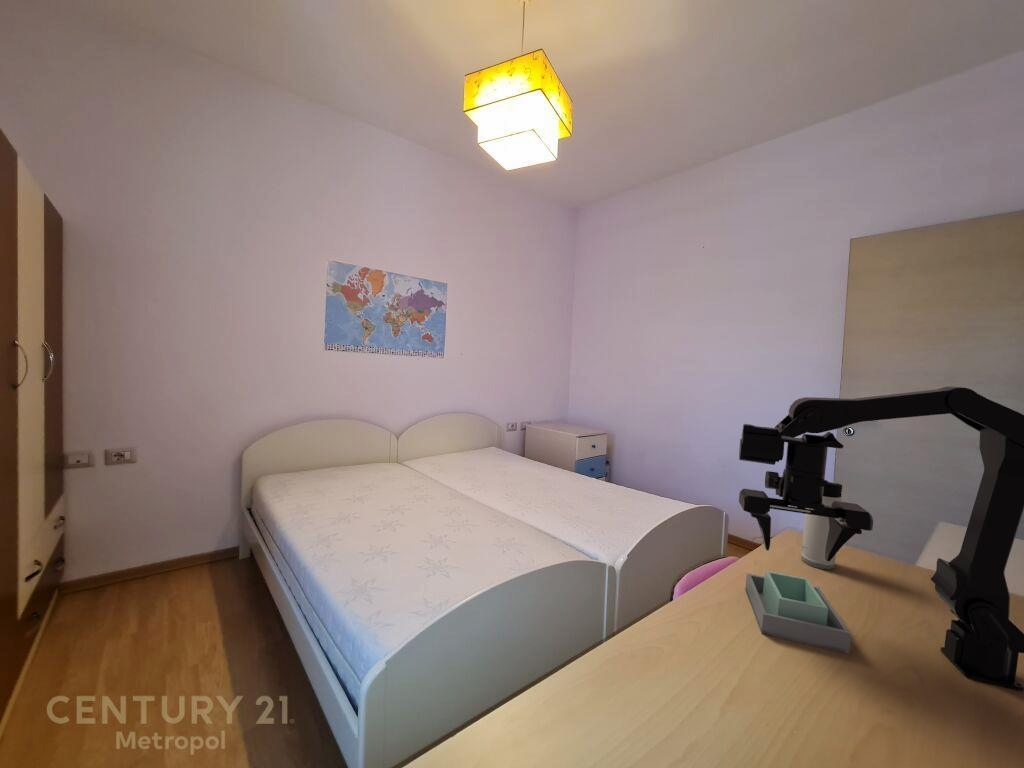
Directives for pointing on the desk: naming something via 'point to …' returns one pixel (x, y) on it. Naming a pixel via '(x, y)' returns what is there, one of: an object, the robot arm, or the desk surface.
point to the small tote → (794, 598)
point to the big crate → (798, 621)
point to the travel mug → (819, 531)
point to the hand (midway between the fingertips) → (796, 554)
